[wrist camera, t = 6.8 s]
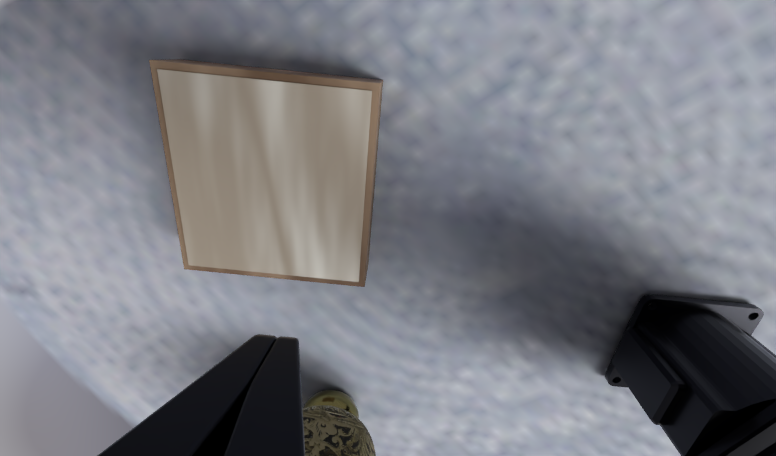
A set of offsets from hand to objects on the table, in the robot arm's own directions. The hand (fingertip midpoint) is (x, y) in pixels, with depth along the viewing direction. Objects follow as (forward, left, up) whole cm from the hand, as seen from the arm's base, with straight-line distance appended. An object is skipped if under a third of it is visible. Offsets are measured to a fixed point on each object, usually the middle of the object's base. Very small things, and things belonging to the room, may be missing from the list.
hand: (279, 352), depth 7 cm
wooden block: (-1, 0, -11) cm, 11 cm away
